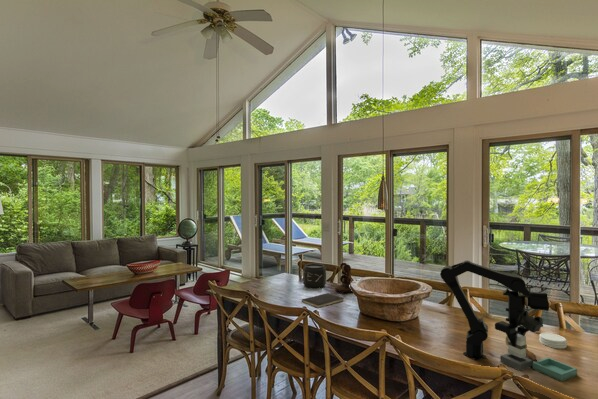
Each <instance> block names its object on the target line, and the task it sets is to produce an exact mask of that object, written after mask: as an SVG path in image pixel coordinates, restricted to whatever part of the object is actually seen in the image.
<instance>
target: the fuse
mask: <svg viewBox="0 0 598 399" xmlns="http://www.w3.org/2000/svg"><path fill="white" fill-rule="evenodd" d="M526 345H527V336H526V335H525V336H523V335H520V334H518V335H517V341H516V347H514V346H512V344H511V342H510V340H509V338H508V346H507V354H508V353H510V354H512V355H515V356H517V357H519V358H523V357H527V355H526Z"/></svg>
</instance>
